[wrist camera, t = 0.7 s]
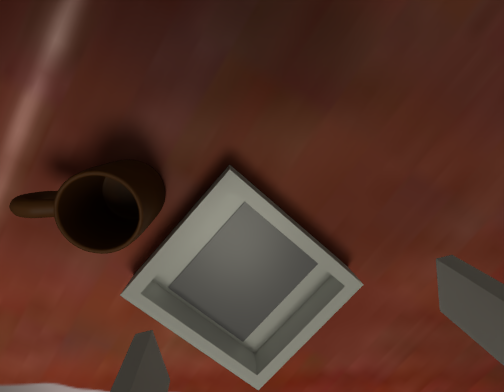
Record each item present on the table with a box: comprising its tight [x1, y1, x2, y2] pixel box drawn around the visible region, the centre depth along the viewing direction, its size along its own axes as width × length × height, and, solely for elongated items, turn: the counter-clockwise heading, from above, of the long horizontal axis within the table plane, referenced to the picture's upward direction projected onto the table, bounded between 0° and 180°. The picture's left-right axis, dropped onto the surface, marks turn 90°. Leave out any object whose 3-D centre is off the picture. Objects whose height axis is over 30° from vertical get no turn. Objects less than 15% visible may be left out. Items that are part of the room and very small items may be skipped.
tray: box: [120, 165, 363, 390], centre depth 35 cm, size 20×18×4 cm
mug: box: [10, 160, 165, 254], centre depth 29 cm, size 12×8×9 cm, turn 87°
